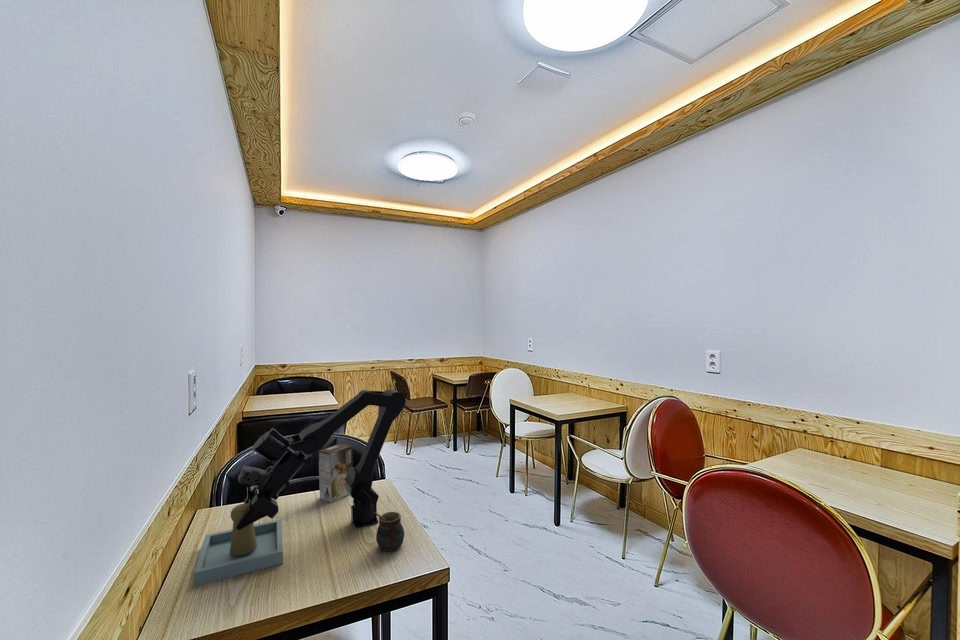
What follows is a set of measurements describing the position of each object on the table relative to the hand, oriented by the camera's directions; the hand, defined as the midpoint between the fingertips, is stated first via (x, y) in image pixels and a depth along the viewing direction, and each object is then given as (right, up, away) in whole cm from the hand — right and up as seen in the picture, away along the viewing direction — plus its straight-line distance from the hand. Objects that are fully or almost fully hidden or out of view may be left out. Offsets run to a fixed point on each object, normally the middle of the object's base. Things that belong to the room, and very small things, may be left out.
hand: (236, 524), depth 104 cm
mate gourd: (+38, -8, +4) cm, 39 cm away
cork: (+1, -7, +1) cm, 7 cm away
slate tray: (+1, -8, +1) cm, 8 cm away
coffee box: (+13, -8, +35) cm, 38 cm away
